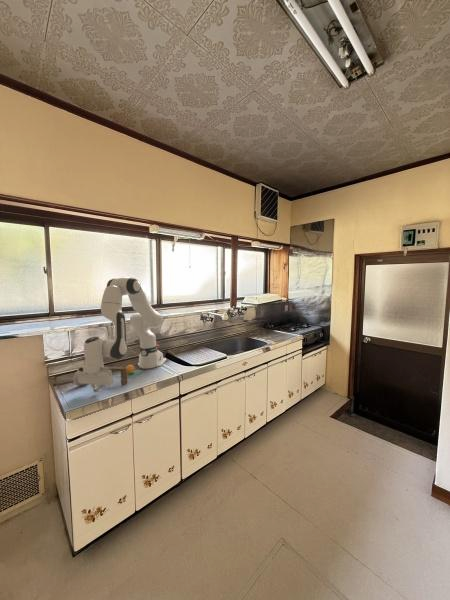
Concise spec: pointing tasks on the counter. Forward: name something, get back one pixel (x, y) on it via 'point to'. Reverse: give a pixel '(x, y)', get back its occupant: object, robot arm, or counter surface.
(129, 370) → the ball
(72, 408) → the counter surface
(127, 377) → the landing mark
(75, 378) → the donut
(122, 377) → the bridge
